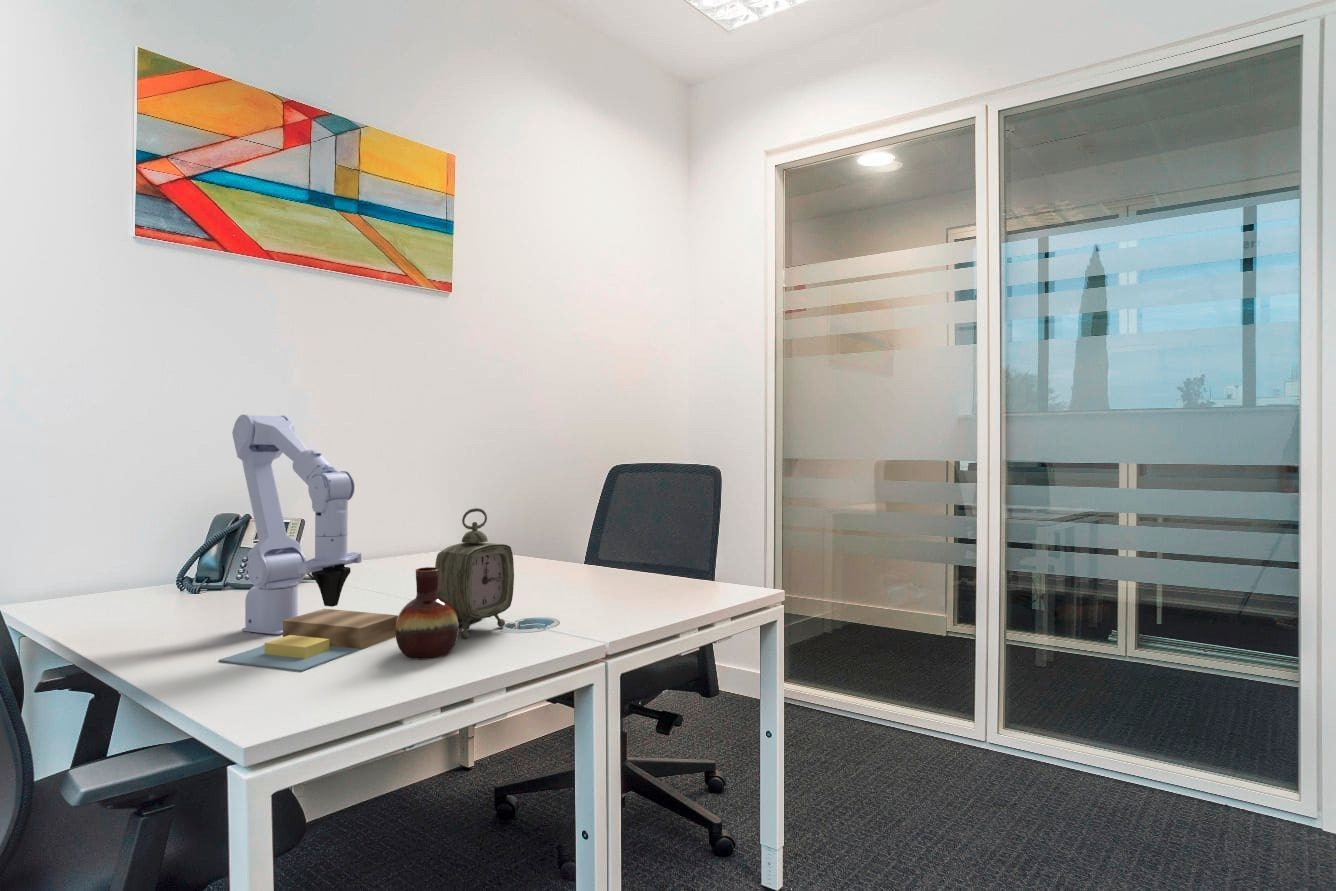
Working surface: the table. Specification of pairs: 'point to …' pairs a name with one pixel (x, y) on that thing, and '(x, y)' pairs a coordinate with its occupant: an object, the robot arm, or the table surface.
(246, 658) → the mat
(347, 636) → the brown wooden block
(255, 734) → the table surface
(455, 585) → the tabletop clock
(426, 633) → the vase
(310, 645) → the flat yellow block
